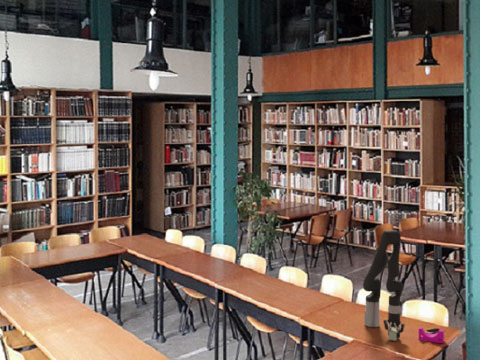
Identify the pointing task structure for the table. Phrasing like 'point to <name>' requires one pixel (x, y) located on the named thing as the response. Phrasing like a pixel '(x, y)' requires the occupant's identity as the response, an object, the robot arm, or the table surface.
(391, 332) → the green brick
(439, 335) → the toy block
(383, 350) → the table surface
